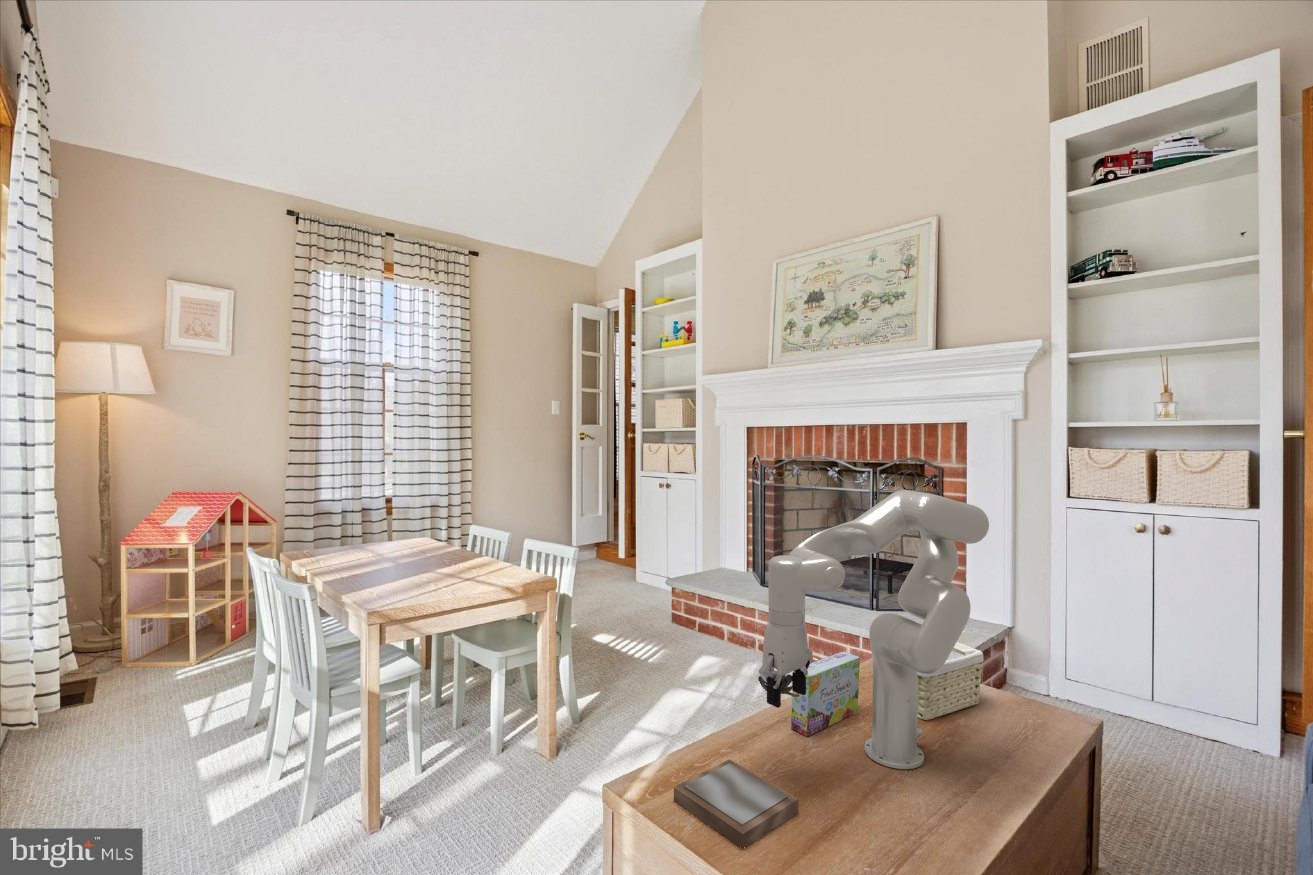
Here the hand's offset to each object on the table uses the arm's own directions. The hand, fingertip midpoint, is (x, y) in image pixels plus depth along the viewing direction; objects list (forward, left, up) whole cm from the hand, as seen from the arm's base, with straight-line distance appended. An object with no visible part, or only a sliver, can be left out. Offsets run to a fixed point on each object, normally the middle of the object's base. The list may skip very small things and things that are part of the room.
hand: (786, 698), depth 129 cm
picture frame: (+15, 0, -17) cm, 23 cm away
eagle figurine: (+1, -4, 0) cm, 4 cm away
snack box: (-28, -9, -17) cm, 34 cm away
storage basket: (-59, +2, -17) cm, 62 cm away
